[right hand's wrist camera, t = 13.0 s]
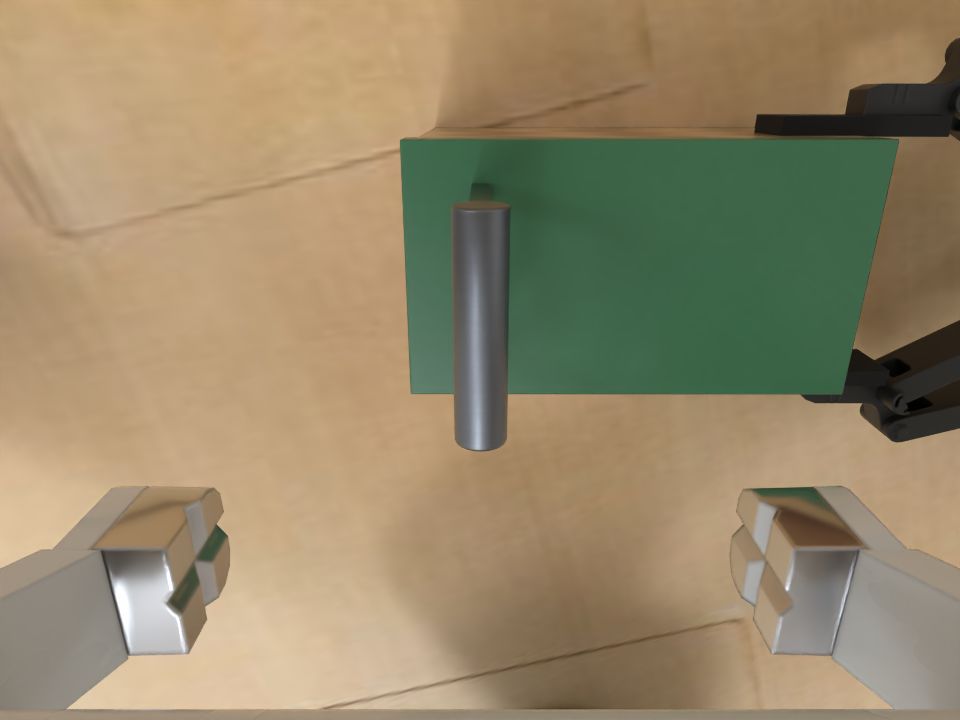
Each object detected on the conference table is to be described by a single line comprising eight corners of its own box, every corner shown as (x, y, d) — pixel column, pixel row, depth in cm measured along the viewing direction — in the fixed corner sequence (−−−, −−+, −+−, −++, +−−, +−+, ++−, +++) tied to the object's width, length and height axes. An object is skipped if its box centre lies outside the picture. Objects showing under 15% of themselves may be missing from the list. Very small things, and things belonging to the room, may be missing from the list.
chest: (438, 313, 37) (423, 381, 28) (433, 127, 33) (415, 137, 24) (742, 313, 37) (827, 382, 28) (771, 127, 33) (879, 137, 24)
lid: (413, 382, 28) (387, 490, 20) (403, 137, 24) (366, 154, 16) (827, 382, 28) (961, 491, 20) (879, 137, 24) (1068, 154, 16)
